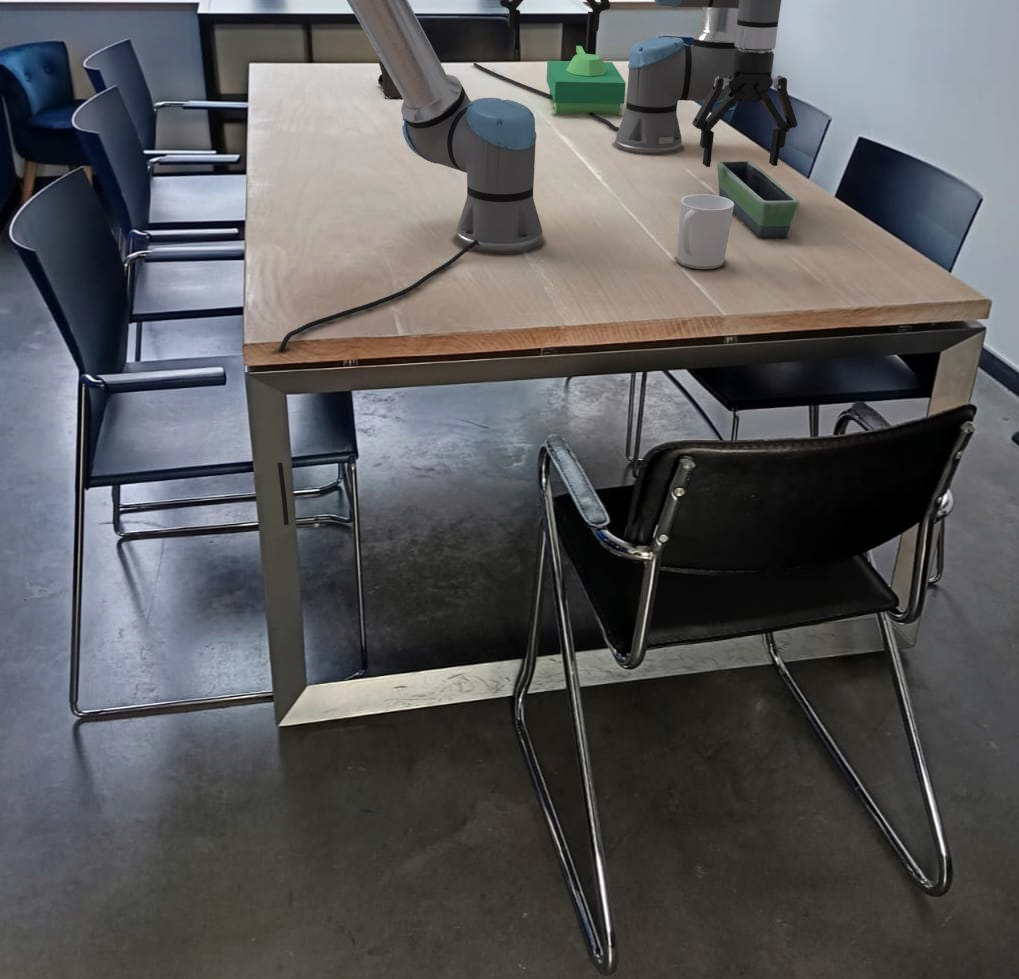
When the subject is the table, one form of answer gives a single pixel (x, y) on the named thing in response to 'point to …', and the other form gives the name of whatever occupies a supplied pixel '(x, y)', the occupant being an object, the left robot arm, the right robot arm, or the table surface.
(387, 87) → the axe head
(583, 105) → the toy tank
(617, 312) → the table surface
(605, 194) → the table surface
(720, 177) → the planter
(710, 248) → the mug
